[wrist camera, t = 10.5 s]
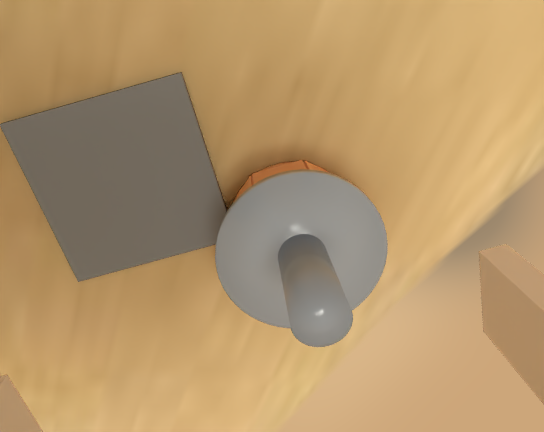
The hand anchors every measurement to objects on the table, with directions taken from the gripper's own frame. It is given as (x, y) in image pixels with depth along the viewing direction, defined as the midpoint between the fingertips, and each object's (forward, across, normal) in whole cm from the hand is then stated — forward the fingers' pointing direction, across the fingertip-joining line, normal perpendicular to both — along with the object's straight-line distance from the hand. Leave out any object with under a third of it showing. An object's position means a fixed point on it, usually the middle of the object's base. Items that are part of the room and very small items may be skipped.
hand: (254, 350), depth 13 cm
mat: (+26, -9, -2) cm, 28 cm away
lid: (+20, +3, -9) cm, 22 cm away
